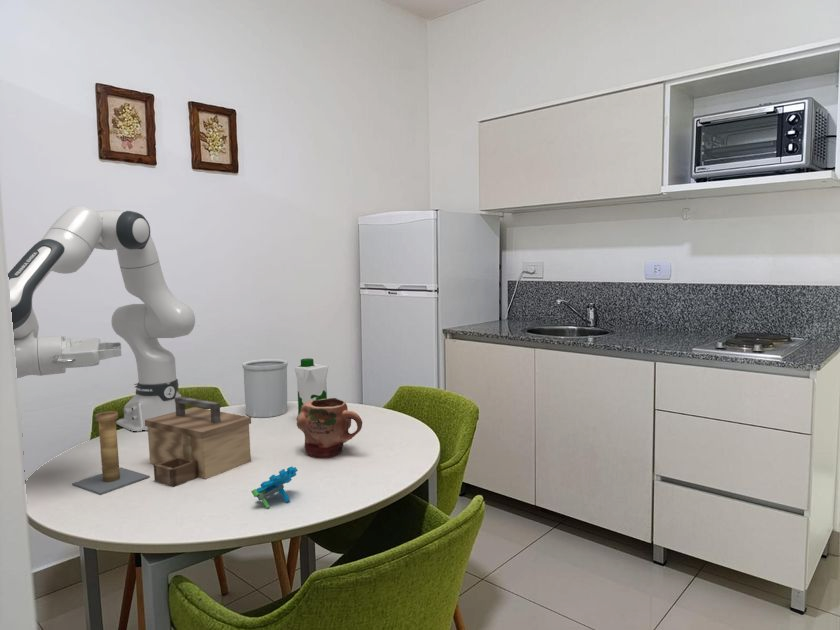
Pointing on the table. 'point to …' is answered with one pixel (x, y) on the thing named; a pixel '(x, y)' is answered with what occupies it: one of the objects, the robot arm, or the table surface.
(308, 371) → the milk carton
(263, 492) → the gear
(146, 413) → the robot arm
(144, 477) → the mat
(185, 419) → the toolbox
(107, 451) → the tan cylinder
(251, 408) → the utensil holder
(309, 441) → the pink ceramic mug
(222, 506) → the table surface
